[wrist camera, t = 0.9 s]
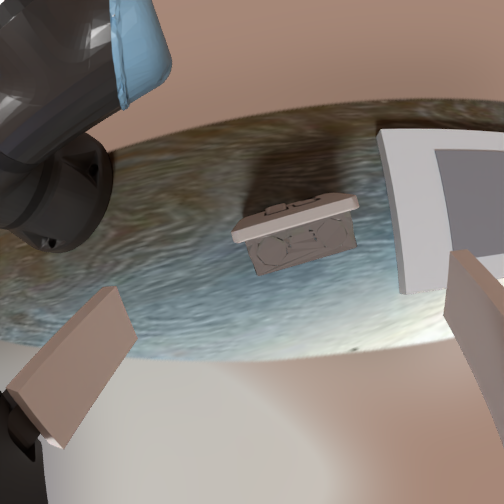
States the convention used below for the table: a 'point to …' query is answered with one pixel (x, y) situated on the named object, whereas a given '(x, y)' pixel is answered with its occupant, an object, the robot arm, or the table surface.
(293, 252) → the electrical switch
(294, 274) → the table surface
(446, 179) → the mounting board
